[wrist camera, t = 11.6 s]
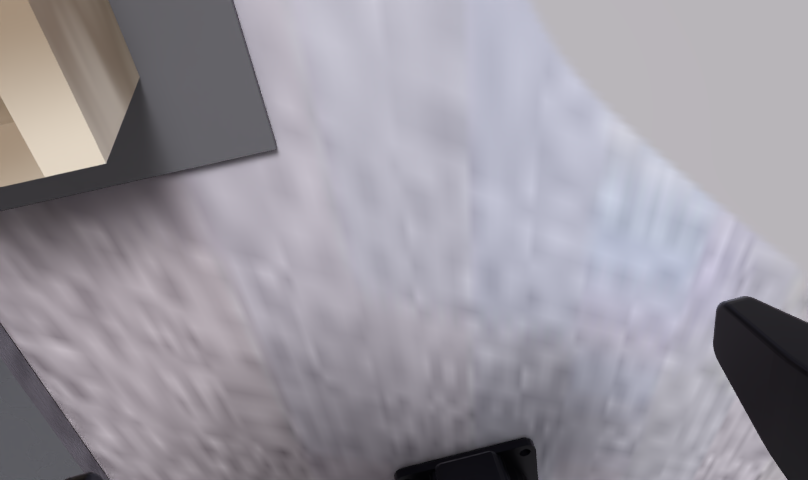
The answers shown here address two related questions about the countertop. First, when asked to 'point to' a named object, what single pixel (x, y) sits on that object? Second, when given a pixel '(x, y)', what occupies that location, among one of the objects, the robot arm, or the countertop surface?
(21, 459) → the metal post stand
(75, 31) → the ash wood collar block
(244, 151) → the dark gray flat plate
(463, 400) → the countertop surface
